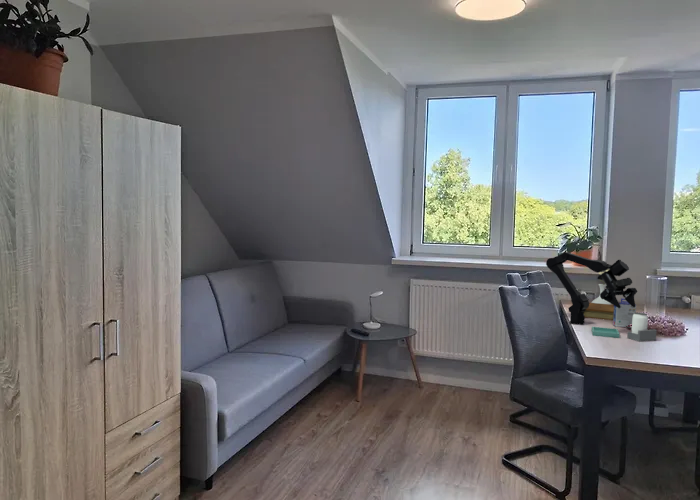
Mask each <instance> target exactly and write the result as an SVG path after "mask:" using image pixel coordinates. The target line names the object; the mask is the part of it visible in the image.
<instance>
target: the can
mask: <svg viewBox="0 0 700 500" xmlns="http://www.w3.org/2000/svg"><path fill="white" fill-rule="evenodd" d="M648 322H649V317H648V314H647V313H644V312H637V311H636V313H634V315H633V318H632V327H631V332H632V333H636V334H638V331H639V330H648V324H649V323H648Z"/></svg>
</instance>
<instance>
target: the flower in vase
mask: <svg viewBox="0 0 700 500" xmlns="http://www.w3.org/2000/svg"><path fill="white" fill-rule="evenodd" d="M607 271H608V270H606V272H607ZM604 272H605V271H604ZM604 272H598V275H599V274H602V273H604ZM599 281H601V282H602V283H598V287H599V296H598V297H596V298H594V299H593V300H592V301H591V303H598V304H610V305H612V304H611V303H610V302H608V301H606V300H604V299H601V297H600V294H601V293H602V292H603V291H604V290H605V289H606V286H607V285H606V284H605V282H604V281H603V280H599Z"/></svg>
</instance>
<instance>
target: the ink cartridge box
mask: <svg viewBox="0 0 700 500" xmlns="http://www.w3.org/2000/svg"><path fill="white" fill-rule="evenodd" d="M619 304H620V306H621V307H620V308H618V307H616V306H614V317H613V320H612V321H613V322H612V325H613V326H614V327H615V328H616V327H619V328H627V327H626V326H628V325H630V324H632V318H633V315H634V313H636V312H637V304H636V303H635V306H636V307H635V308H634V307H632V306H631V305H630V304H629V303H628V302H627V301H626V300H625V298H624V297H621V298H620V302H619Z"/></svg>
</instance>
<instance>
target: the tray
mask: <svg viewBox="0 0 700 500" xmlns="http://www.w3.org/2000/svg"><path fill="white" fill-rule="evenodd" d="M591 334H592V336H593V337H594V336H595V337H605V338H615V339H620V332H619V330H618V328H610V327H609V328H608V327H600V326H591Z"/></svg>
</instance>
